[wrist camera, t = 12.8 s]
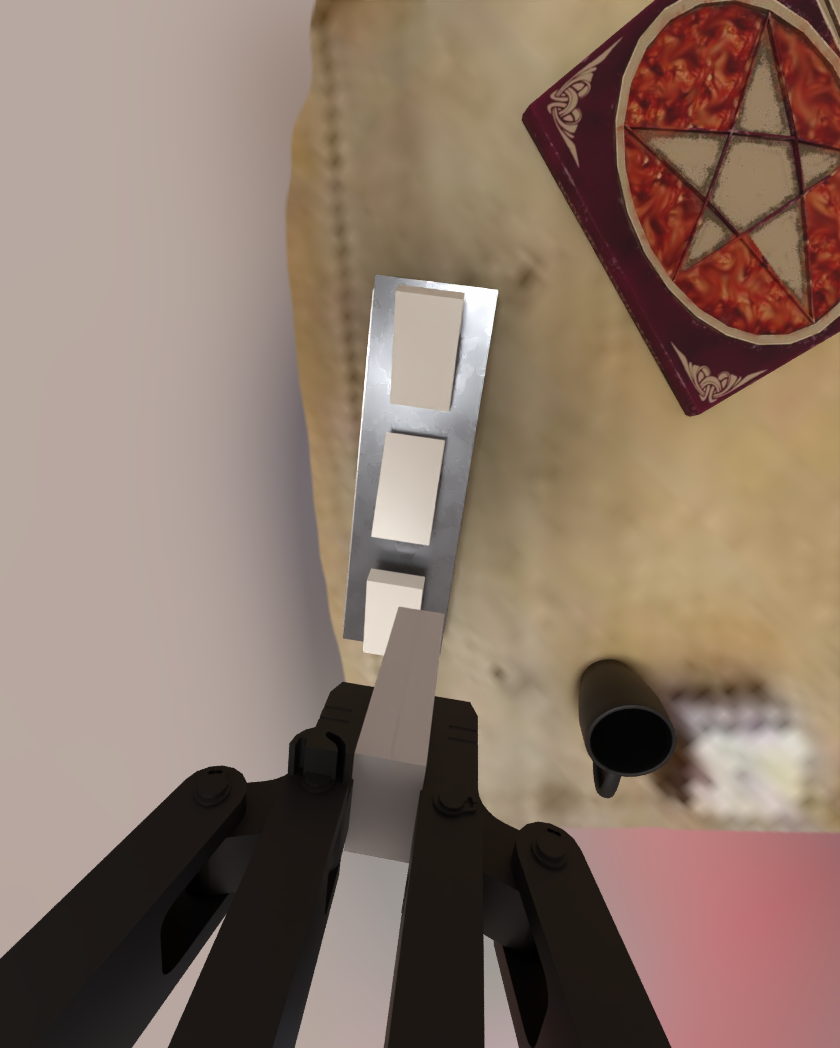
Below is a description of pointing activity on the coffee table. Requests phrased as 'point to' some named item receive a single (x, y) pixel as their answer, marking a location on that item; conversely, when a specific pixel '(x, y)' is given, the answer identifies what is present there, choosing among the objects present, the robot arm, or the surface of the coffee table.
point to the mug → (622, 725)
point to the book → (709, 181)
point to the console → (422, 423)
